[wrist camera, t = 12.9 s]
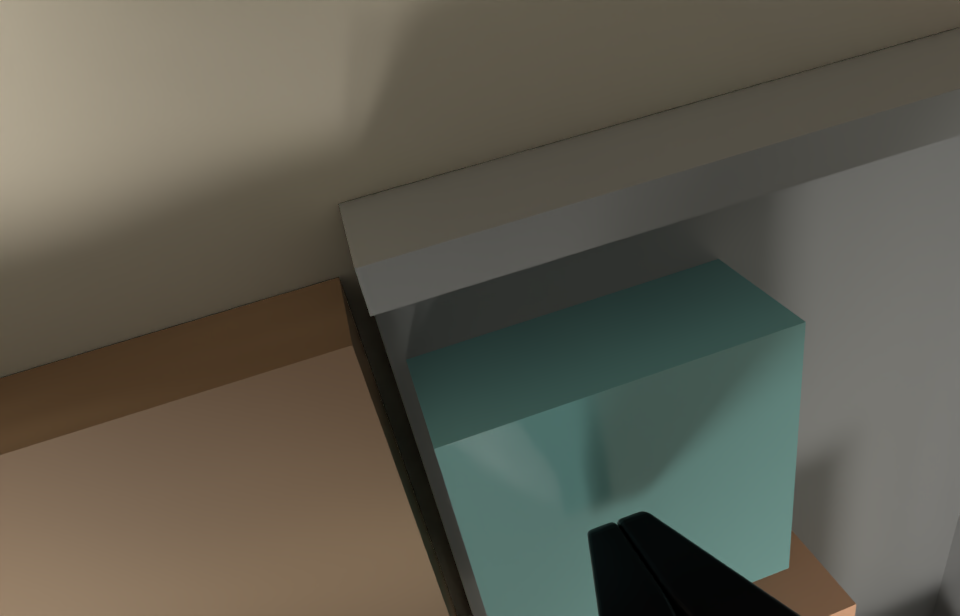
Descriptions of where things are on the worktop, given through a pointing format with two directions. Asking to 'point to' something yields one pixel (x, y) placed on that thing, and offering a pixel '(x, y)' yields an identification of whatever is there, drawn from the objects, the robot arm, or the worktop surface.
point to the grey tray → (753, 254)
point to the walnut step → (213, 475)
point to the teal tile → (619, 433)
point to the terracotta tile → (807, 586)
